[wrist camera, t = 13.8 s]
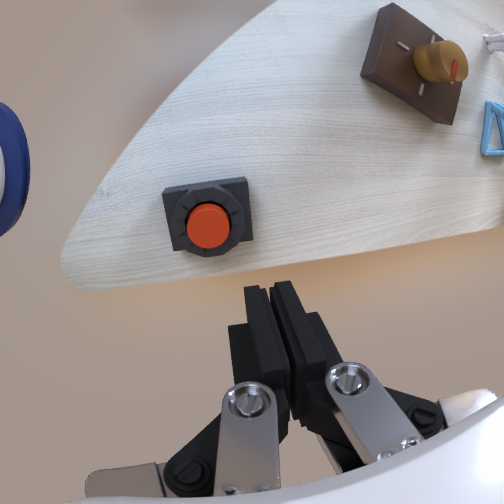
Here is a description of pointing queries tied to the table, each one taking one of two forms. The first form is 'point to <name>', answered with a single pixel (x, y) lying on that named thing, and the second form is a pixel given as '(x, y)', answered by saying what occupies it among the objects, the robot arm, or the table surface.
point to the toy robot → (496, 40)
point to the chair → (503, 120)
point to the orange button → (208, 226)
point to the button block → (215, 192)
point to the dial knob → (441, 62)
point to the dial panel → (407, 64)
